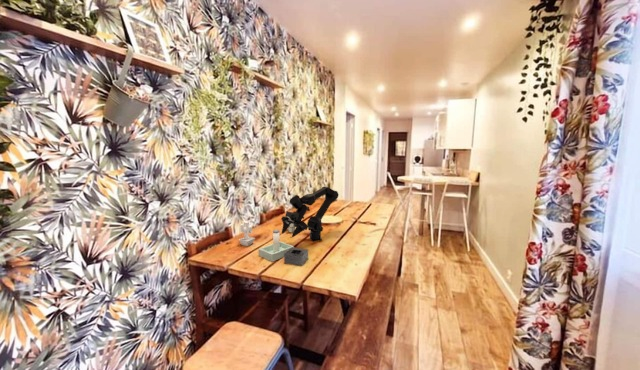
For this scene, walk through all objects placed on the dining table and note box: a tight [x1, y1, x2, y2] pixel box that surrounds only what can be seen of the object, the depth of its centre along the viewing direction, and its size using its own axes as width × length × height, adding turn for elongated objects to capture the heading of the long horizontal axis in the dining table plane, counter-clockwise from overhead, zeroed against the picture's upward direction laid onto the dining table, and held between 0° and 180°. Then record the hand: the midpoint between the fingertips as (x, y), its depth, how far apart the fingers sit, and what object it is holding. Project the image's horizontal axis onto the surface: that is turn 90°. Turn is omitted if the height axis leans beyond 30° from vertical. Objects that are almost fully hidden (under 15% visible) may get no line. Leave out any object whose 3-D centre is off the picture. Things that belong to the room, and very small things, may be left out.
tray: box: [258, 240, 295, 262], centre depth 148 cm, size 16×12×4 cm
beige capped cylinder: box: [272, 229, 281, 253], centre depth 147 cm, size 4×4×13 cm
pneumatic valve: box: [287, 217, 296, 234], centre depth 188 cm, size 6×12×12 cm, turn 53°
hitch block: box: [283, 247, 309, 267], centre depth 140 cm, size 10×10×5 cm
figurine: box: [238, 220, 256, 247], centre depth 162 cm, size 7×9×15 cm
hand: (287, 235), depth 153 cm, fingers open, 9 cm apart
